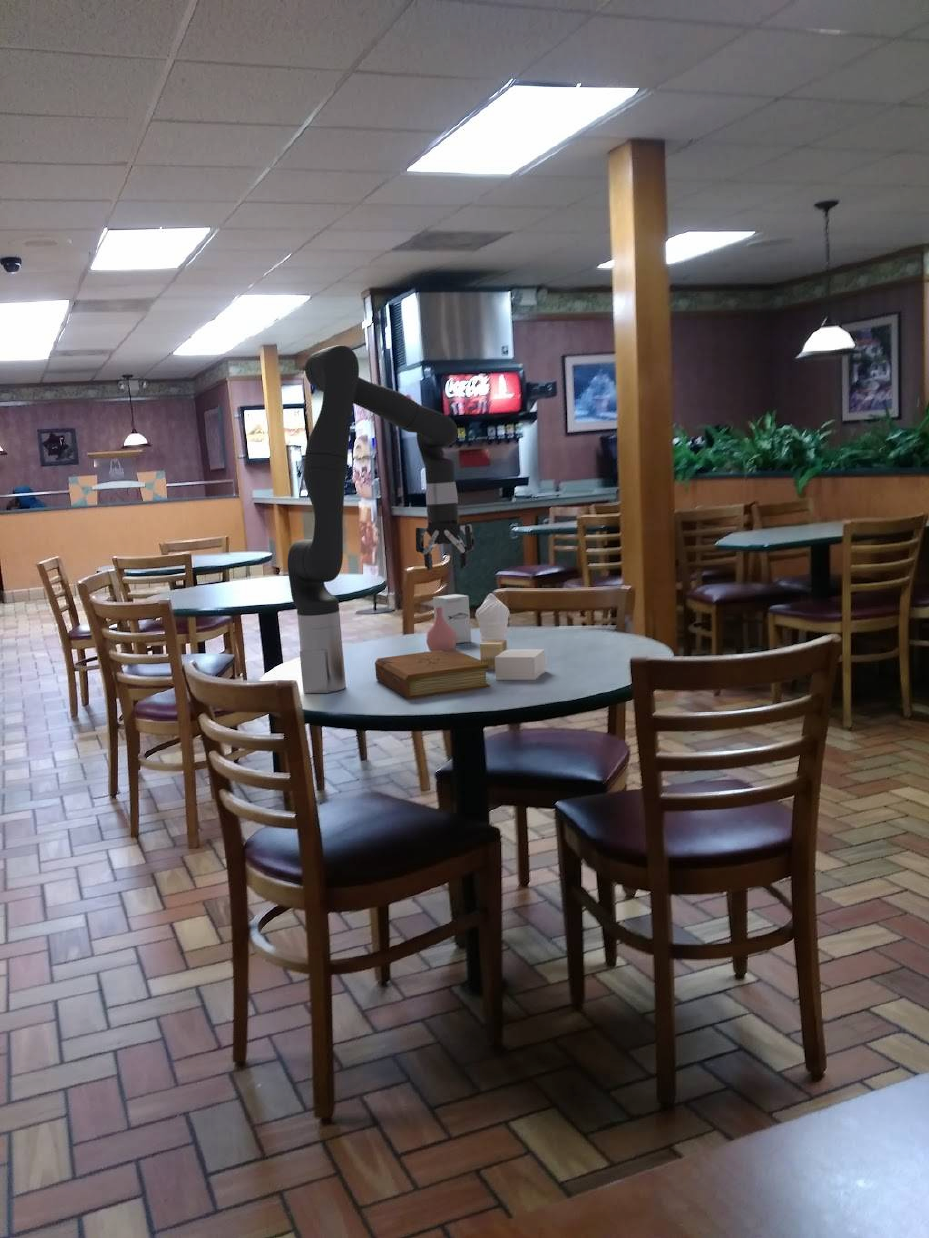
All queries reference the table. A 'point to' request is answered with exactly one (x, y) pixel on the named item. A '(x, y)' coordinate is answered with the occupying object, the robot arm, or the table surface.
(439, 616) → the pink vase
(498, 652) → the oak block
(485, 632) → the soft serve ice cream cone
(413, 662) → the diary
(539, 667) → the plinth
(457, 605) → the supplement box
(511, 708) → the table surface
